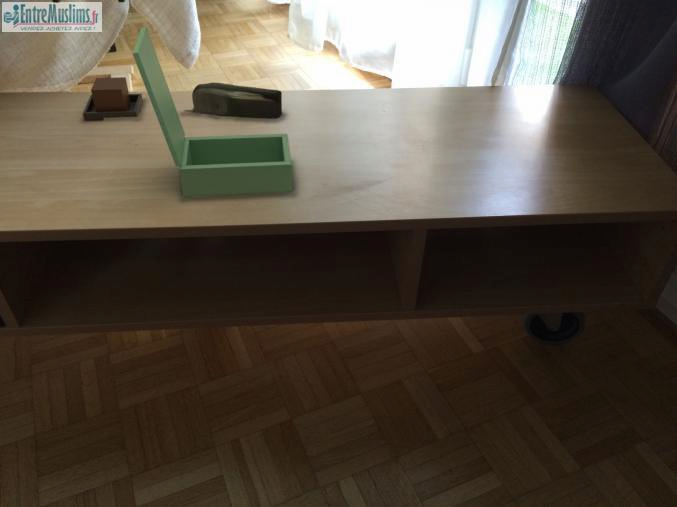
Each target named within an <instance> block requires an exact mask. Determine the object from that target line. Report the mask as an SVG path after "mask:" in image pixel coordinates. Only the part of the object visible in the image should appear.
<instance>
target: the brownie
mask: <svg viewBox="0 0 677 507" xmlns="http://www.w3.org/2000/svg"><path fill="white" fill-rule="evenodd" d="M90 93H91V95H92V97H93V101H94V105H95V109H96V112H107V111H129V108H130V105H131V102H130V97H129V94H130V93H129V87H128V82H127V78H126V77H125V76H123V77H121V76H120V77H96V78H95V79H94V82H93V84H92V87H91V89H90Z"/></svg>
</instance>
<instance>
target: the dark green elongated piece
mask: <svg viewBox="0 0 677 507" xmlns="http://www.w3.org/2000/svg"><path fill="white" fill-rule="evenodd" d="M282 95H283V93H282V91H281V90H278V89H272V88H271V89H270V88H263V87H255V86H245V85H235V84H230V83H224V82H207V83H199V84H197V85H196V86H195V87H194V89H193V91H192V93H191V100H192V105H193V108H192V109H185V110H184V113H193V114H205V115H214V116H219V117H220V116H221V117H232V118H243V119H244V118H246V119H266V120H275V119H279V118H281V116H282V115H283V99H282V98H283V96H282Z"/></svg>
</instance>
